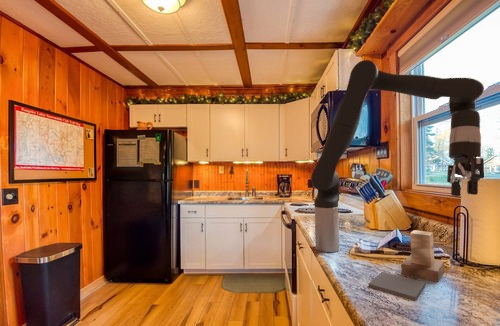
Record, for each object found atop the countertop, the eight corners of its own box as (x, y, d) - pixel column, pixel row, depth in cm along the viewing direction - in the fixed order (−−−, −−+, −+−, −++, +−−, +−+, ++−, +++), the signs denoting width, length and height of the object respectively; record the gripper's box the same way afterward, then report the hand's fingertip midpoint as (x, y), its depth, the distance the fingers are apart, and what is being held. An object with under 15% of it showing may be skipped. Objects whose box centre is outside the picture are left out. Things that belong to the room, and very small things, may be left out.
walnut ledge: (401, 273, 77) (401, 263, 77) (410, 263, 85) (410, 254, 85) (438, 282, 71) (437, 271, 71) (444, 270, 78) (444, 261, 78)
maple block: (411, 262, 78) (410, 232, 78) (415, 258, 81) (414, 230, 82) (431, 266, 74) (429, 235, 75) (434, 262, 78) (433, 232, 78)
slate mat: (368, 286, 69) (368, 283, 69) (382, 274, 77) (382, 271, 77) (415, 300, 61) (415, 297, 61) (425, 285, 69) (425, 282, 69)
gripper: (439, 147, 87) (437, 194, 84) (463, 135, 73) (462, 191, 70) (465, 149, 85) (464, 198, 82) (495, 138, 71) (495, 195, 69)
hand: (463, 195), depth 76 cm, fingers open, 8 cm apart
